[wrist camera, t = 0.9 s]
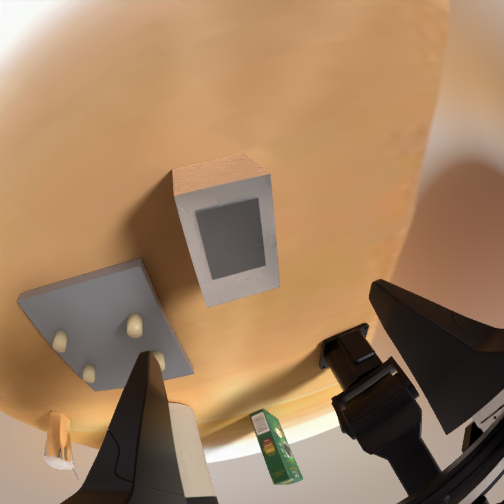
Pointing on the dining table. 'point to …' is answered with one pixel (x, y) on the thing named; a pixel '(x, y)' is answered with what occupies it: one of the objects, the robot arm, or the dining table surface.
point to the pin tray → (106, 324)
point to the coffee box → (275, 448)
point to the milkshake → (59, 442)
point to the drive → (228, 226)
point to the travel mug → (191, 456)
